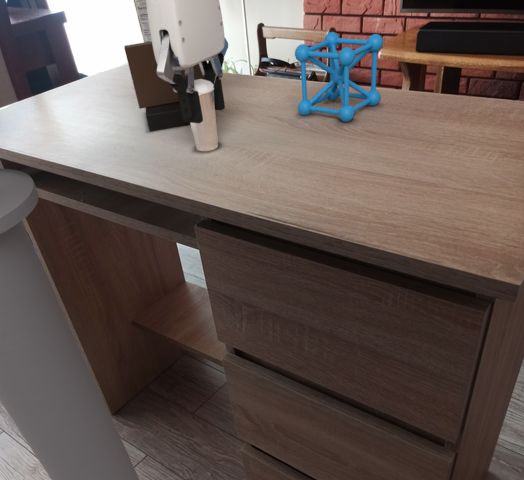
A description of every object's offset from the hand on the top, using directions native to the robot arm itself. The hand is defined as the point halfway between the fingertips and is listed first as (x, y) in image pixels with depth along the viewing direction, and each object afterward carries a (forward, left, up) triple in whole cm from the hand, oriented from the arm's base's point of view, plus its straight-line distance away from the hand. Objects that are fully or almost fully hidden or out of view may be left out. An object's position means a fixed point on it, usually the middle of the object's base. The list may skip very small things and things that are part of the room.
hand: (204, 113), depth 74 cm
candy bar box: (+25, +26, -5) cm, 36 cm away
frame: (+10, +14, -2) cm, 17 cm away
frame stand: (+10, +14, -5) cm, 18 cm away
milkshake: (0, 0, -5) cm, 5 cm away
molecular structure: (+19, -12, -5) cm, 23 cm away
